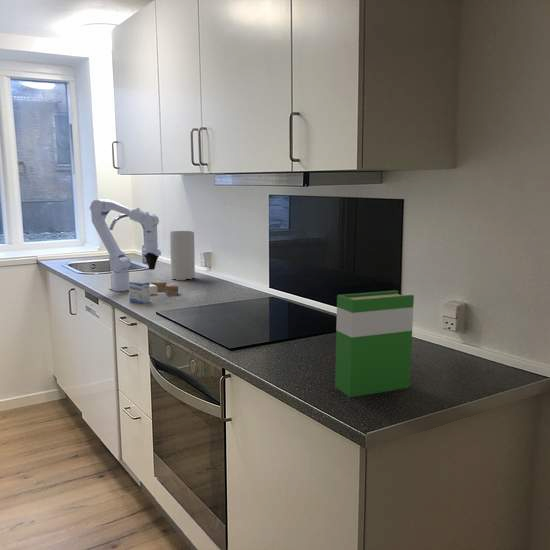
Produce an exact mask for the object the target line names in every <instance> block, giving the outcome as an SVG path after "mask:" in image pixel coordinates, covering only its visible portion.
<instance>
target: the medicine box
mask: <svg viewBox="0 0 550 550" xmlns="http://www.w3.org/2000/svg"><path fill="white" fill-rule="evenodd" d="M128 291H129V292H128V295H129V296H128V297H129V302H130V303H135V302H137V304H143V303H144V304H147V302H148V303H150V302H151V295H150V282H146V281H138V280H133V281H129V290H128Z"/></svg>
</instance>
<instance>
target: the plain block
mask: <svg viewBox="0 0 550 550" xmlns="http://www.w3.org/2000/svg"><path fill="white" fill-rule="evenodd" d="M151 294H154V295H158V291H157V286H156V285H153V284H150V296H152V295H151Z"/></svg>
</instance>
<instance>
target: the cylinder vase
mask: <svg viewBox="0 0 550 550" xmlns="http://www.w3.org/2000/svg"><path fill="white" fill-rule="evenodd" d="M169 237H170V239H169V241H170V243H169V244H170V278H171V279H172V280H173V279H176V280H175V281H187V280H186V279H191V280H193V279H192V278H194V277H196V274H195V272H196V269H195V268H196V266H195V265H196V263H195V262H196V261H195V260H196V259H195V231H192V230H172V231H170V232H169ZM194 279H195V278H194Z"/></svg>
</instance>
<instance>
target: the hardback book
mask: <svg viewBox="0 0 550 550" xmlns="http://www.w3.org/2000/svg"><path fill="white" fill-rule="evenodd" d="M414 297H415V295H413V294H406V295H405V294H404V295H402V294H399V290H396V289H395V290H386V291H385V290H384V291H382V290H381V291H372V292H371V291H370V292H360V293H347V294H346V293H345V294H337V296H336V327H335V329H336V330H335V333H336V334H335V362H334V363H335V373H334V388H335V389H336V388H337V389H336V390H337V391H339V390H340V392H341V393H342V392H343V394H344V395H345V396H347V397H349V398H354V397H360V396H361V397H362V396H366V395H372V394H379V393H380V394H381V393H385V392H392V391H398V390H397V389H399V390H403V388H405V389H409V388H408V387H410V388H411V368H412V367H411V366H412V345H413V343H412V342H413V326H414V325H413V321H414V304H415V303H414V301H415V300H414V299H415V298H414Z"/></svg>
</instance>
